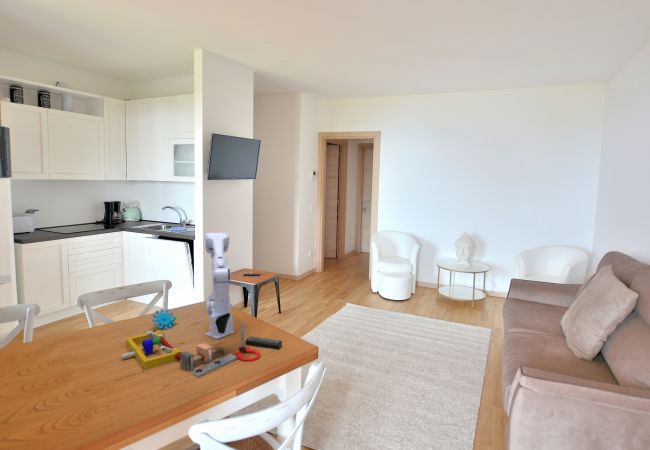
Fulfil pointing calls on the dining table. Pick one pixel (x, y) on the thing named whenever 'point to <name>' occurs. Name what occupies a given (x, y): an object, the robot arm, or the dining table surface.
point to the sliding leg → (205, 352)
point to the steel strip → (214, 365)
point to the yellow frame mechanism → (151, 349)
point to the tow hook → (245, 349)
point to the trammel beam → (197, 358)
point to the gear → (163, 319)
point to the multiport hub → (263, 342)
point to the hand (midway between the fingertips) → (221, 332)
